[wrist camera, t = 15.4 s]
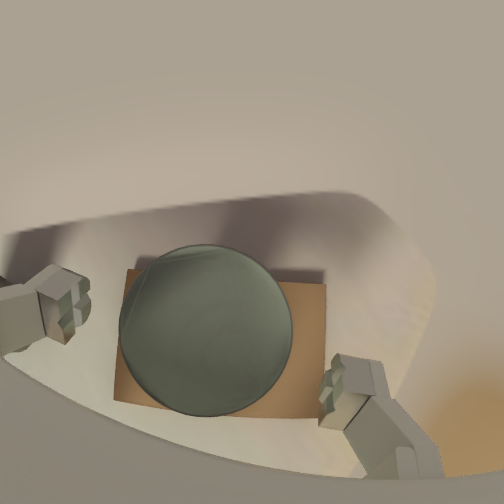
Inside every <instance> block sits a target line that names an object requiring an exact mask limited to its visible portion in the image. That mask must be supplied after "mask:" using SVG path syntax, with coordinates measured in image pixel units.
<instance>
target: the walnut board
mask: <svg viewBox="0 0 504 504" xmlns="http://www.w3.org/2000/svg"><path fill="white" fill-rule="evenodd" d="M142 271H143V270H133V269H128V271H127V277H126V284H125V290H124V297H123V301H124V298H125V296H126V294H127V292H128V290H129V288H130V286H131V285H132V283H133V282H134V280H135V279H136V278H137V276H138V275H139V274H140V273H141V272H142ZM277 282H278V284H279V285H280V287H281V288H282V290H283V292H284V294H285V296H286V299H287V301H288V304H289V307H290V310H291V315H292V321H293V342H292V349H291V353H290V357H289V360H288V362H287V365H286V367H285V369H284V371H283V373H282V375H281V376H280V378H279V380H278V381H277V382H276V383H275V385H274V386H273V387H272V389H271V390H270V391H269V392H267V393H266V394H265V395H264V396H263V397H262V398H261V399H259V400H258V401H257V402H255V403H254V404H252V405H250V406H249V407H247V408H245V409H243V410H240V411H238V412H235V413H232V414H228V415H224V416H233V417H251V418H290V419H295V418H318V410H319V408H320V407H321V405H322V403H321V402H320V401H319V399H318V393H319V386H320V383H321V380H322V378H323V376H324V360H325V330H326V284H310V283H294V282H279V281H277ZM114 400H116V401H121V402H126V403H131V404H137V405H142V406H148V407H154V408H160V409H167V410H171V409H169V408H167V407H165V406H163V405H161V404H160V403H158V402H157V401H155V400H154V399H152V398H151V397H150V396H149V395H148V394H147V393H145V392H144V391H143V389H142V388H141V387H140V386H139V385H138V384H137V383H136V381H135V380H134V378H133V377H132V375H131V374H130V372H129V370H128V368H127V366H126V364H125V361H124V358H123V356H122V352H121V348H120V343H119V337H118V347H117V358H116V370H115V384H114Z"/></svg>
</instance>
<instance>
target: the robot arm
mask: <svg viewBox="0 0 504 504" xmlns="http://www.w3.org/2000/svg"><path fill="white" fill-rule="evenodd" d="M89 290H90V280H89V279H88V278H87V277H84V276H82V275H80V274H77V273H75V272H73V271H70V270H68V269H66V268H63V267H60V266H58V265H56V264H50V265H49V266H47V267H46V268H45V269H43V270H42V271H41V272H39V273H38V274H37V275H35V276H34V277H33V278H31V279H30V280H29V281H28V282H26V283H25V284H24V285H23V284H21V283H20V284H16V285H11V286H7V287H2V288H0V504H504V469H503V470H498V471H492V472H486V473H480V474H472V475H465V476H455V477H445V475H444V471H443V466H442V462H441V457H440V453H439V449H438V446H437V445H436V444H435V443H434V442H433V441H432V440H431V439H430V437H429V436H428V435H427V434H426V433H425V432H424V431H423V430H422V429H421V428H420V426H419V425H418V424H417V423H416V422H415V421H414V420H413V419H412V418H411V417H410V415H409V414H408V413H407V412H406V411H405V410H404V409H403V408H402V407H401V406H400V405H399V403H398V402H397V401H396V400H395V399H391V397H390V393H389V388H388V384H387V380H386V375H385V371H384V367H383V364H382V362H381V361H376V360H370V359H363V358H358V357H353V356H348V355H344V354H339V353H337V354H336V355H335V356H334V358H333V359H332V361H331V369H330V370H328V371H326V372H325V374H324V376H323V378H322V380H321V383H320V386H319V393H318V399H319V401H320V402H321V403H322V405H321V407H320V408H319V410H318V427H324V428H329V429H335V430H341V431H343V433H344V435H345V436H346V438H347V440H348V441H349V443H350V445H351V447H352V448H353V450H354V452H355V453H356V455H357V457H358V458H359V460H360V462H361V463H362V465H363V467H364V468H365V470H366V472H367V475H366V476H365V477H364V478H362V479H358V478H344V477H332V476H322V475H314V474H306V473H299V472H292V471H286V470H280V469H274V468H269V467H264V466H259V465H254V464H249V463H245V462H240V461H236V460H232V459H228V458H224V457H220V456H216V455H212V454H209V453H205V452H202V451H198V450H195V449H192V448H188V447H185V446H182V445H179V444H176V443H173V442H170V441H167V440H164V439H161V438H158V437H156V436H153V435H150V434H148V433H145V432H142V431H140V430H137V429H135V428H132V427H130V426H127V425H125V424H123V423H120V422H118V421H116V420H113V419H111V418H109V417H107V416H104V415H102V414H100V413H98V412H96V411H94V410H91V409H89V408H87V407H85V406H83V405H81V404H79V403H77V402H75V401H73V400H71V399H69V398H68V397H66V396H64V395H62V394H60V393H58V392H56V391H55V390H53V389H51V388H49V387H48V386H46V385H44V384H42V383H41V382H39V381H37V380H36V379H34V378H32V377H31V376H29V375H27V374H26V373H24V372H23V371H21V370H19V369H18V368H16V367H15V366H13V365H12V364H10V363H9V362H7V361H6V360H5V359H4V355H6V354H8V353H11V352H13V351H15V350H18V349H20V348H22V347H24V346H27V345H29V344H31V343H33V342H36V341H38V340H40V339H42V338H45V337H46V336H47V337H49V338H51V339H53V340H55V341H58V342H60V343H62V344H64V345H66V344H67V342H68V341H69V340H70V339H71V338H72V337H73V335H74V334H75V328H76V327H79V326H82V325H83V324H84V323H85V322H86V320H87V319H88V316H89V314H90V310H91V299H90V298H89V296H88V294H87V292H88V291H89Z"/></svg>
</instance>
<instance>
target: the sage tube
mask: <svg viewBox="0 0 504 504" xmlns="http://www.w3.org/2000/svg"><path fill="white" fill-rule="evenodd" d="M118 331H119V343H120V348H121V352H122V356H123V358H124V361H125V364H126V366H127V368H128V370H129V372H130V374H131V375H132V377H133V378H134V380H135V381H136V383H137V384H138V385H139V386H140V387H141V388H142V389H143V391H144V392H145V393H147V394H148V395H149V396H150V397H151V398H152V399H154V400H155V401H157V402H158V403H160V404H161V405H163V406H165V407H167V408H169V409H171V410H173V411H175V412H179V413H182V414H185V415H190V416H196V417H217V416H224V415H228V414H232V413H235V412H238V411H240V410H243V409H245V408H247V407H249V406H250V405H252V404H254V403H255V402H257V401H258V400H259V399H261V398H262V397H263V396H264V395H265V394H266V393H267V392H269V391H270V390H271V389H272V387H273V386H274V385H275V383H276V382H277V381H278V380H279V378H280V376H281V375H282V373H283V371H284V369H285V367H286V365H287V362H288V360H289V357H290V353H291V349H292V342H293V321H292V315H291V310H290V307H289V304H288V301H287V299H286V296H285V294H284V292H283V290H282V288H281V287H280V285H279V284H278V282H277V281H276V279H275V278H274V277H273V276H272V274H271V273H270V272H269V271H268V270H267V269H266V268H265V267H264V266H263V265H261V264H260V263H259V262H257V261H256V260H255V259H253V258H251V257H250V256H248V255H246V254H244V253H242V252H240V251H237V250H235V249H232V248H228V247H224V246H219V245H212V244H199V245H190V246H186V247H182V248H178V249H175V250H173V251H170V252H168V253H166V254H164V255H162V256H160V257H159V258H157V259H156V260H154V261H153V262H152V263H150V264H149V265H148V266H147V267H146V268H145V269H144V270H143V271H142V272H141V273H140V274H139V275H138V276H137V278H136V279H135V280H134V282H133V283H132V285H131V286H130V288H129V290H128V292H127V294H126V296H125V298H124V301H123V304H122V307H121V312H120V317H119V330H118Z"/></svg>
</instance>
